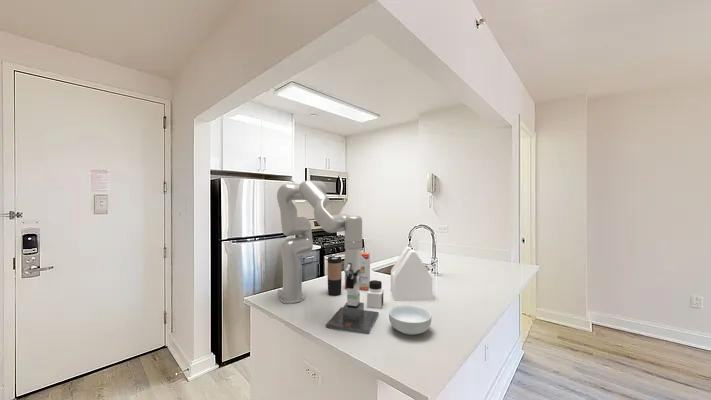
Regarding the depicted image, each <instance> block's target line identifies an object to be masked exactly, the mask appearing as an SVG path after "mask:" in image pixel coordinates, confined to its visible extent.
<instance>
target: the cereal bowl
mask: <svg viewBox="0 0 711 400" xmlns="http://www.w3.org/2000/svg"><path fill="white" fill-rule="evenodd" d="M388 311H389V312H388V318H389V319H388V320H389V322H390V324H391V326H392V327H393V328H394V329H395V330H397V331H399V332H401V333H403V334H405V335H409V336H415V335H418V334H422V333H425V332H426V331H428V330H429V328H431V327H430V326H431V323H432V319H433V318H432V314H431V312H430V311H429V310H428V309H425V308H423V307H420V306H416V305H410V304H405V305H404V304H402V305H396V306H394V307H391V308H389V310H388Z"/></svg>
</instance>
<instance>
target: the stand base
mask: <svg viewBox="0 0 711 400" xmlns="http://www.w3.org/2000/svg"><path fill="white" fill-rule="evenodd" d="M379 315H380V313H379V311H373V310H367V309H365V304H364V302H360V303H359V304H358V306H349V305H347V302H346V303H345V304H344V305H343V306H342V307H340V308H339V309H338V310H337V311H336V312H335V314H334V315H332V317H331V318H330V319H329V320H328V321H327V322H326V324H325V328H326V329H330V330H338V331H345V332H352V333H358V334H365V335H369V334H370V333H371V331H372V329H373V327H374V324H375V323H376V321H377V319H378V317H379Z"/></svg>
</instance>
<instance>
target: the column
mask: <svg viewBox="0 0 711 400" xmlns="http://www.w3.org/2000/svg"><path fill="white" fill-rule="evenodd" d="M360 273H361V270H358V271H357V272H356V273H354V276H353V279H354V288H353V289H350V288H347V289H346V290H347V291H346V293H347V294H346V298H347V299H346V300H347V301H346V303H347V305H349V306H358V304H359V303H361V302H360V297H361V294H360V293H361V292H360V291H361V290H360ZM351 275H352V274H351Z"/></svg>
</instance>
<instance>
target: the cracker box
mask: <svg viewBox="0 0 711 400" xmlns="http://www.w3.org/2000/svg"><path fill="white" fill-rule="evenodd" d="M360 270H361V273H360V291H368V290H369V282H370V281H371V252H365V251H361V268H360ZM344 290H347V288H346V273H345V272H344Z"/></svg>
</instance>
